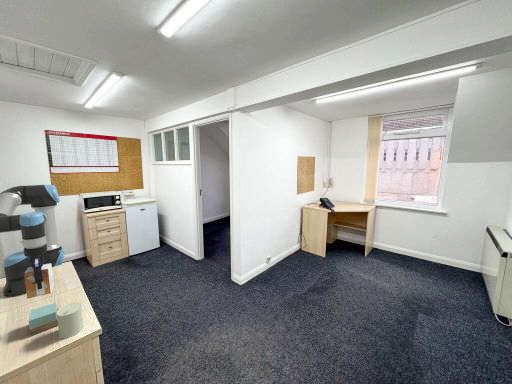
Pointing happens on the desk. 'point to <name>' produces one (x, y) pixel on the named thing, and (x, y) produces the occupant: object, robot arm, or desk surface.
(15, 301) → the desk surface
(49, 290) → the small box
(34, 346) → the desk surface
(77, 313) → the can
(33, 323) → the top slab
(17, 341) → the desk surface
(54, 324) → the bottom slab
